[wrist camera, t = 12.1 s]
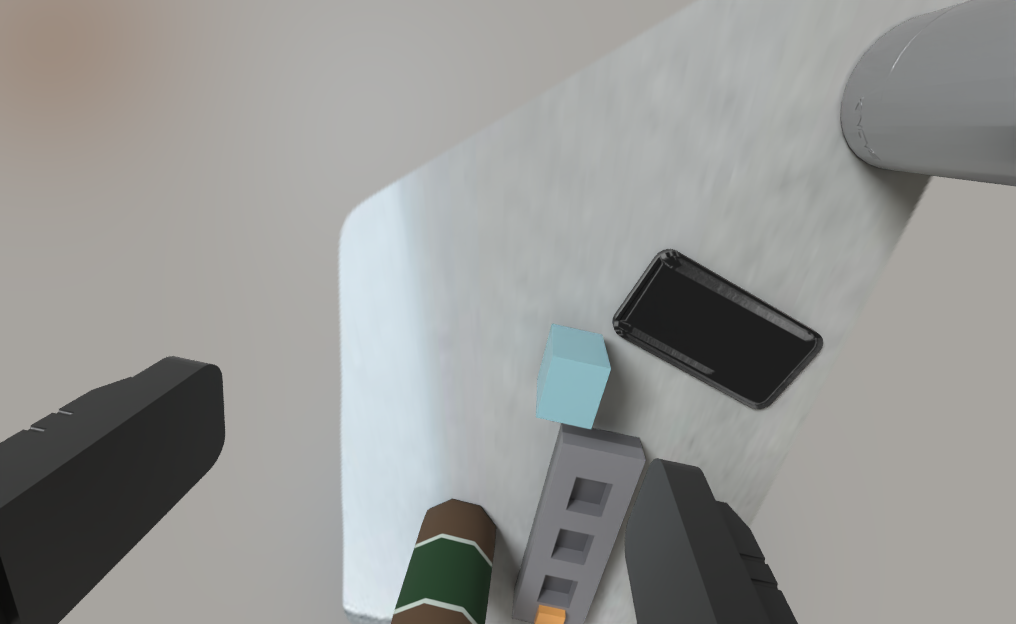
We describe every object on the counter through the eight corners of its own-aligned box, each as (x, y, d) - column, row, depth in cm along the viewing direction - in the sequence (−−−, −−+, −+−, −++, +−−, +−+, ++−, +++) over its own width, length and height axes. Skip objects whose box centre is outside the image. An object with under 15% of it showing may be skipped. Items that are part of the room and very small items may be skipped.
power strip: (561, 421, 41) (563, 449, 38) (639, 437, 41) (647, 467, 38) (514, 590, 50) (511, 626, 46) (578, 604, 50) (580, 641, 46)
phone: (666, 245, 34) (830, 340, 36) (662, 242, 35) (822, 334, 37) (607, 330, 37) (761, 414, 39) (605, 325, 38) (755, 407, 40)
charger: (551, 315, 38) (552, 356, 31) (600, 326, 38) (611, 368, 31) (537, 368, 40) (535, 417, 33) (583, 379, 40) (591, 429, 33)
